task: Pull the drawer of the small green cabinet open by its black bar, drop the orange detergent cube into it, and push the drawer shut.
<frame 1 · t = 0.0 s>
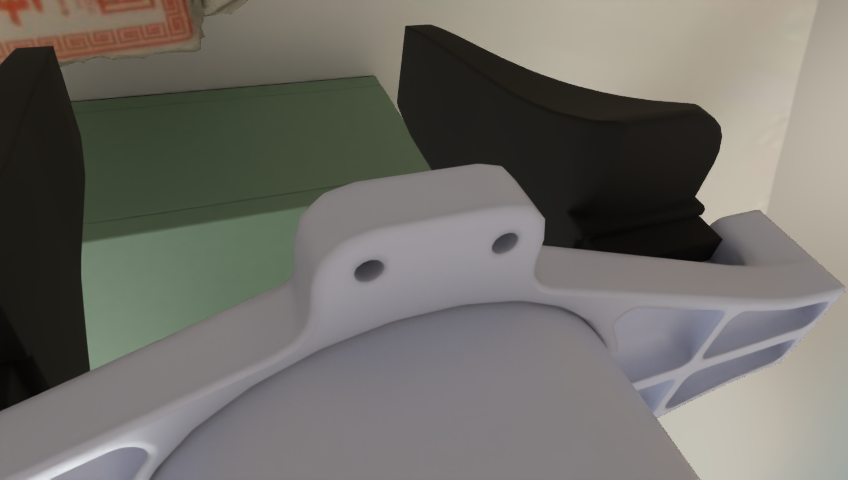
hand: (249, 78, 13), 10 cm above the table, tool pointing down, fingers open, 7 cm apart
small green cabinet: (227, 218, 29), on the table
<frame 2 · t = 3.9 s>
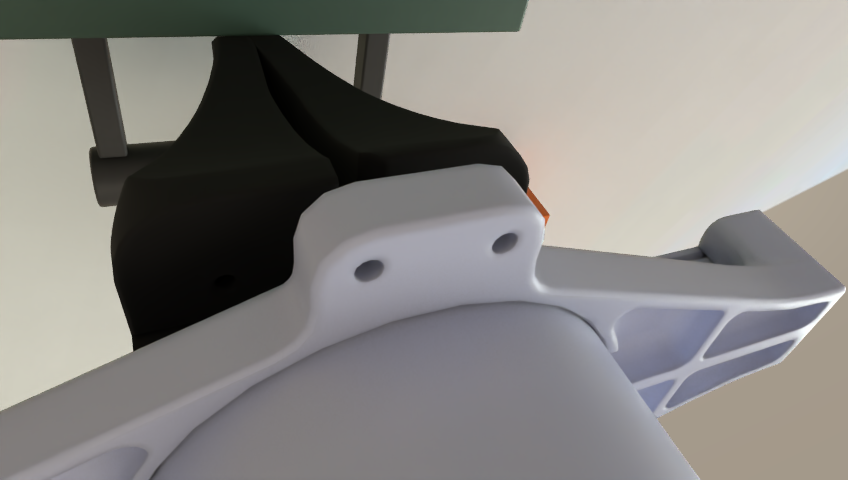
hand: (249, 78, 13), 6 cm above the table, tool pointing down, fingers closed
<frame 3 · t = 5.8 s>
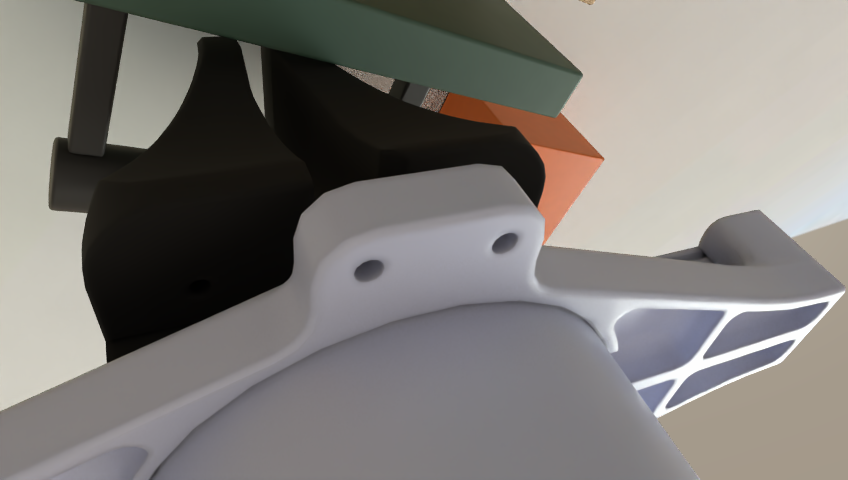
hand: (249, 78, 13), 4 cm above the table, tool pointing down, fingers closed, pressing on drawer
cube: (478, 131, 23), on the table
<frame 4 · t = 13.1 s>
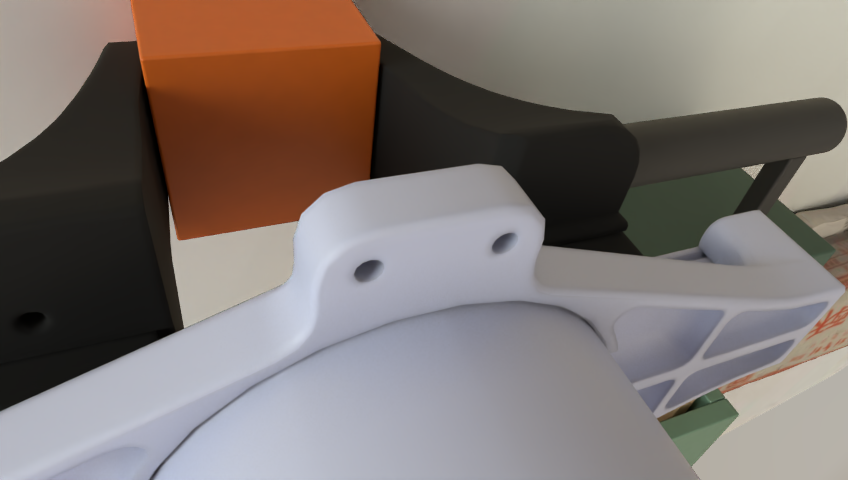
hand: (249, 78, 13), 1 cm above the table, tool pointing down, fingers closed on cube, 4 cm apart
small green cabinet: (471, 393, 31), on the table
drawer: (578, 305, 21), point 4 cm above the table, slide at 7.2 cm
packaged product: (778, 264, 35), on the table
cube: (236, 47, 14), on the table, touching gripper
when the fingers open (3 cm above the table, at t = 18.0 s): cube stays where it is, resting on drawer.
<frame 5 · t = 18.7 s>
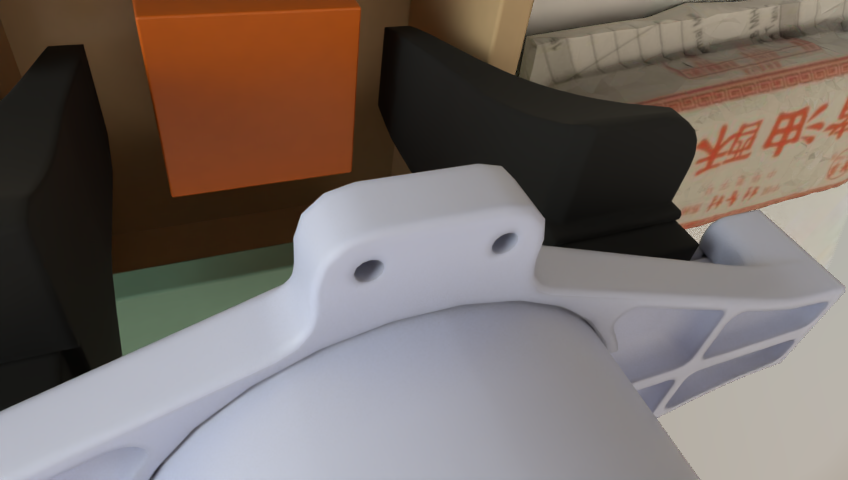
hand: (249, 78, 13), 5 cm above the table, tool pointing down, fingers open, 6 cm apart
small green cabinet: (244, 249, 23), on the table
packaged product: (677, 104, 27), on the table
cube: (228, 19, 15), point 2 cm above the table, touching drawer
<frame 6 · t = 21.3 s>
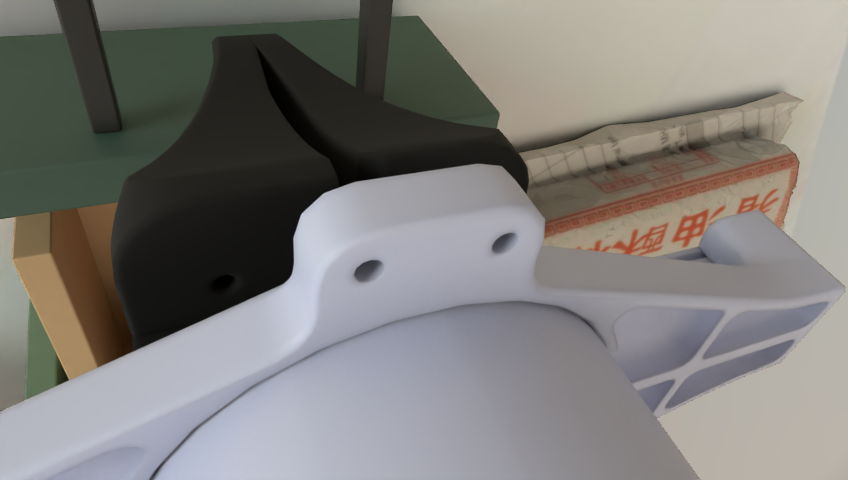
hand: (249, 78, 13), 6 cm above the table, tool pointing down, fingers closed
small green cabinet: (247, 326, 28), on the table
drawer: (246, 194, 18), point 4 cm above the table, slide at 6.9 cm, touching cube
packaged product: (610, 194, 32), on the table
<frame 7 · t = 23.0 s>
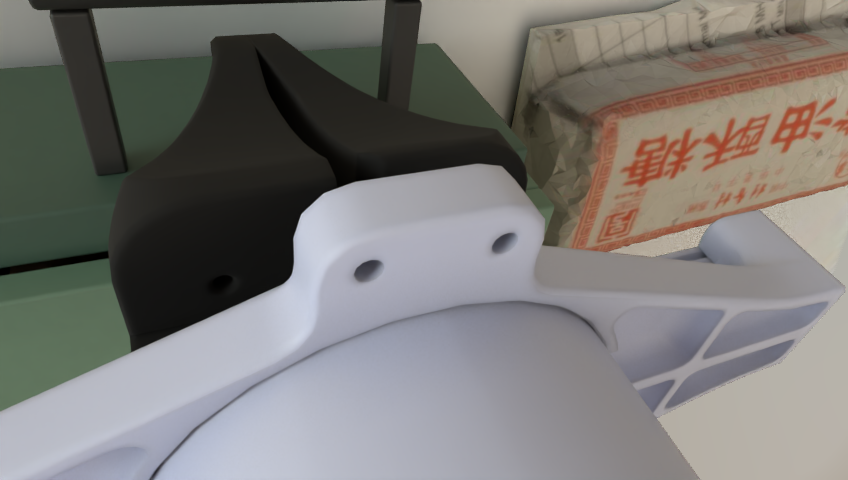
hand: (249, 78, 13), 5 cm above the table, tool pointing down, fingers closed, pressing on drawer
small green cabinet: (241, 247, 22), on the table
drawer: (256, 231, 17), point 4 cm above the table, slide at 0.0 cm, touching cube, gripper, small green cabinet
packaged product: (681, 102, 27), on the table
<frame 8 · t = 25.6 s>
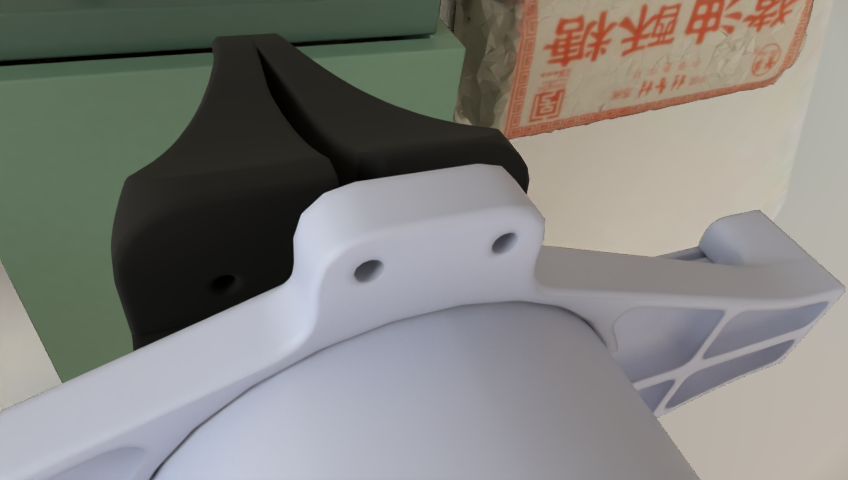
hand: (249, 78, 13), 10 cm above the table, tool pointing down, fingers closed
small green cabinet: (214, 124, 25), on the table
drawer: (219, 82, 20), point 4 cm above the table, slide at 0.0 cm, touching cube, small green cabinet
packaged product: (616, 8, 29), on the table
cube: (214, 93, 22), point 2 cm above the table, touching drawer
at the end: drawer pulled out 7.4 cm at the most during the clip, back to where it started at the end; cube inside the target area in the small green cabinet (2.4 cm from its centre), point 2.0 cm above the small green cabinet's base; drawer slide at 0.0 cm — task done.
